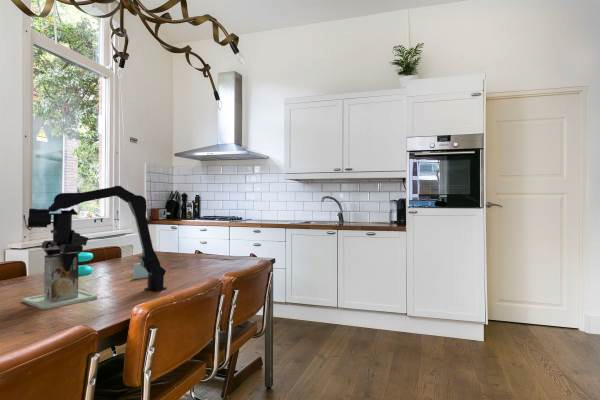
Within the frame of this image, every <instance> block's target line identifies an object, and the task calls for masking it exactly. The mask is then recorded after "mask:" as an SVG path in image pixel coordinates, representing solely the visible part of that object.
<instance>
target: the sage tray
mask: <svg viewBox="0 0 600 400" xmlns="http://www.w3.org/2000/svg"><path fill="white" fill-rule="evenodd" d="M97 299H98V295H97V294H94V293H90V292H87V291H84V290H81V289H78V297H75V298H70V299H65V300H60V301H55V302H50V301H47V300H45V299H44V294H40V295H34V296H28V297H22V302H23V303H25V304H28V305H30V306H32V307H35V308H36V309H40V310H41V311H44V310H49V309H53V308H57V307H63V306H68V305H73V304H79V303H82V302H87V301H92V300H97Z"/></svg>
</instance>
